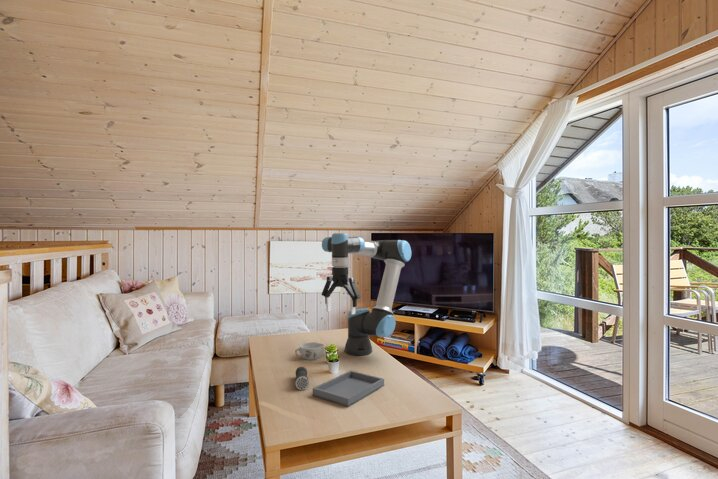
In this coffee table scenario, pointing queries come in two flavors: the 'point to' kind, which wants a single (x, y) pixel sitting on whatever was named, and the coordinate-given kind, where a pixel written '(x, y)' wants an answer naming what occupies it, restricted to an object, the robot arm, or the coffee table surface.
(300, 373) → the flashlight
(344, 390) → the box
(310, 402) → the coffee table surface
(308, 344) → the teacup
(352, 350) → the robot arm
